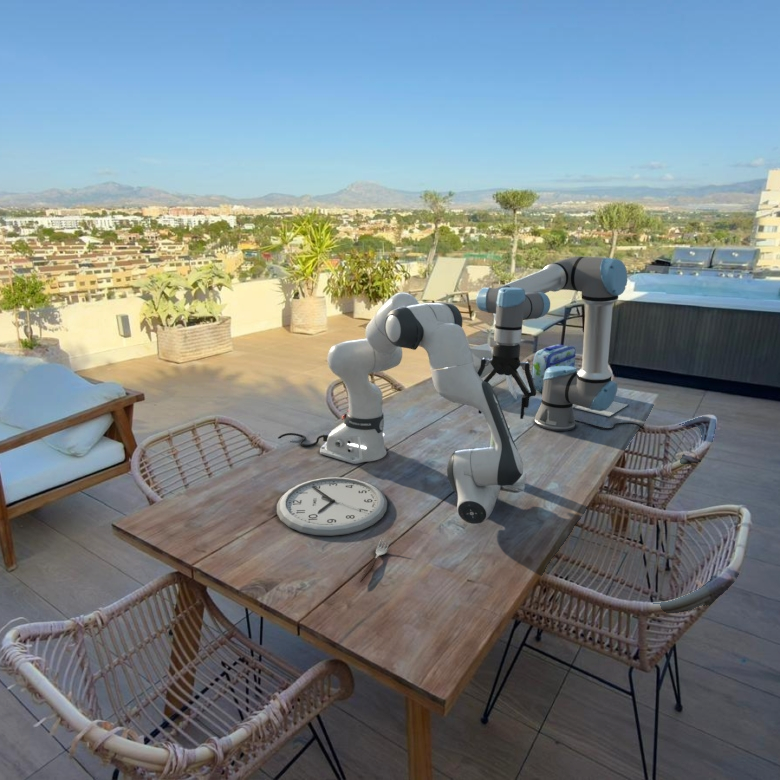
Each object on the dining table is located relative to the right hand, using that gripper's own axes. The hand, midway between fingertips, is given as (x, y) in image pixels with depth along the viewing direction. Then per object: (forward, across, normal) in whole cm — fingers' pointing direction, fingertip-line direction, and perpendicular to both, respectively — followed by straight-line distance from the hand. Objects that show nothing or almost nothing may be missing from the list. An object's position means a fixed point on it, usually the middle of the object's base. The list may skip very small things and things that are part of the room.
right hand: (500, 414), depth 156 cm
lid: (+4, 0, 0) cm, 4 cm away
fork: (+20, +20, +54) cm, 61 cm away
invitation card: (+20, -33, -83) cm, 92 cm away
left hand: (+14, 0, +6) cm, 15 cm away
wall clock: (+20, +39, +34) cm, 56 cm away
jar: (+20, 0, 0) cm, 20 cm away
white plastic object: (+20, +20, -84) cm, 88 cm away
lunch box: (+20, -12, -102) cm, 105 cm away
